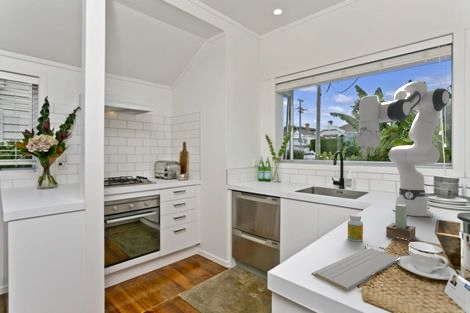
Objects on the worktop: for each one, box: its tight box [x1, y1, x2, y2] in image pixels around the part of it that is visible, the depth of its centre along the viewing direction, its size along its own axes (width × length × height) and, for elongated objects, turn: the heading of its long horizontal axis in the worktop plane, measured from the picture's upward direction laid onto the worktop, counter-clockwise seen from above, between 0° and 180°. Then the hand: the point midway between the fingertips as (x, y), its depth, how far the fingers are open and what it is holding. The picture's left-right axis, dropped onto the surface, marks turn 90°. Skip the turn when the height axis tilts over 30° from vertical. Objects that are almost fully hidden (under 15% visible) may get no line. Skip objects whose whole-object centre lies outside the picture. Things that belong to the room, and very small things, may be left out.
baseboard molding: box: [311, 243, 401, 292], centre depth 73 cm, size 31×3×12 cm
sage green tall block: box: [394, 204, 408, 230], centre depth 99 cm, size 4×3×12 cm
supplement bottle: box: [347, 213, 364, 243], centre depth 95 cm, size 5×5×10 cm
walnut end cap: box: [385, 222, 416, 242], centre depth 99 cm, size 9×8×4 cm
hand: (368, 155), depth 119 cm, fingers open, 8 cm apart
